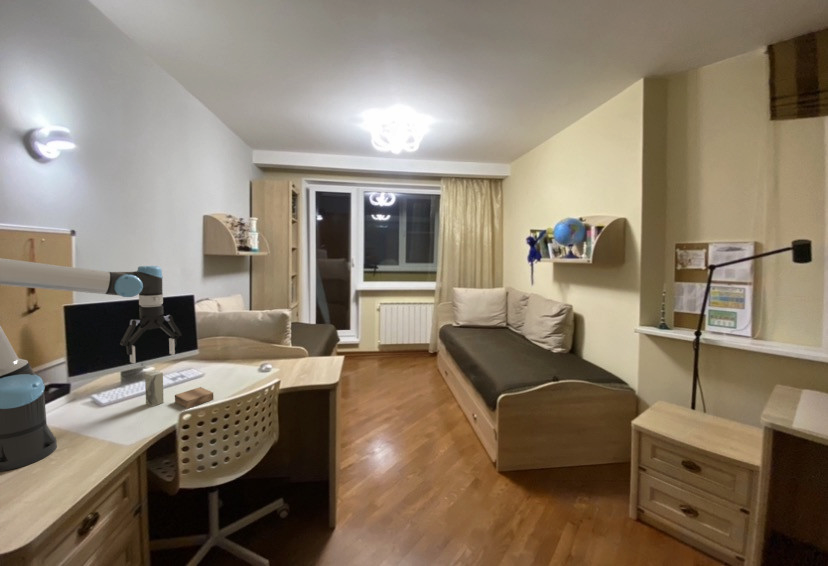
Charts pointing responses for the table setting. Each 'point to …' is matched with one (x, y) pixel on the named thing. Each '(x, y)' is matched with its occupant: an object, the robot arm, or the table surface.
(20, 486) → the table surface
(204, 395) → the base
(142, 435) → the table surface
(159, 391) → the box
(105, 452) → the table surface
